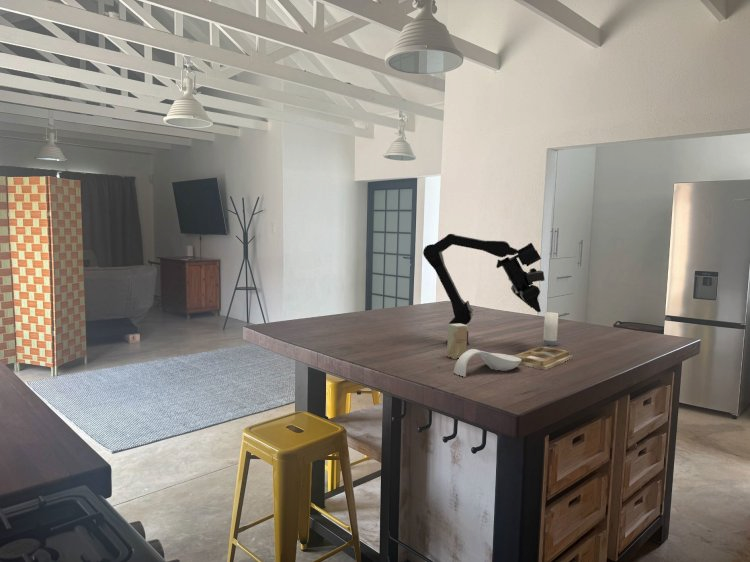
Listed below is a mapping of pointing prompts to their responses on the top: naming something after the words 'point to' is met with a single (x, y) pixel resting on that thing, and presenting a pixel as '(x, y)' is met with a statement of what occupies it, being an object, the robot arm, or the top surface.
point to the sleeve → (550, 328)
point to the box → (456, 340)
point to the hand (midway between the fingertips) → (536, 309)
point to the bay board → (543, 357)
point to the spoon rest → (486, 361)
